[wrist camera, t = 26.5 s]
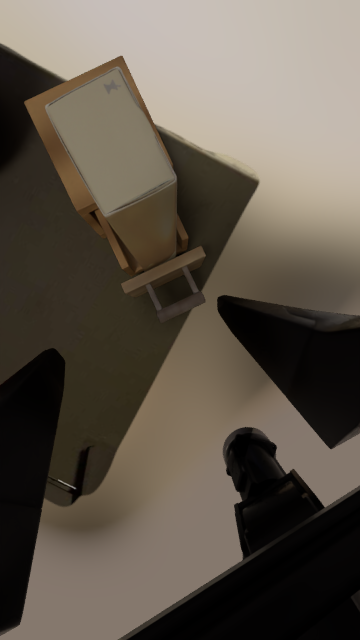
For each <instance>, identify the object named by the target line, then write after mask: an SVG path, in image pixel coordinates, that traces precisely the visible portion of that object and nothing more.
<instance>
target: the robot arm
mask: <svg viewBox="0 0 360 640" xmlns="http://www.w3.org/2000/svg"><path fill="white" fill-rule="evenodd" d="M217 302H218V303H217V307H218V312H219V314H220V316H221V317H222V319H223V320H224V322H225V323H226V325H227V326H228V328H229V329H230V330H231V332H232V333H233V334H234V336H235V337H236V338H237V339H238V340H239V342H240V343H241V344H242V345H243V346H244V347H245V349H246V350H247V351H248V352H249V353H250V354H251V356H252V357H253V358H254V359H255V361H256V362H257V363H258V364H259V365H260V366H261V368H262V369H263V370H264V371H265V372H266V374H267V375H268V376H269V377H270V378H271V380H272V381H273V382H274V383H275V384H276V385H277V387H278V388H279V389H280V390H281V391H282V393H283V394H284V395H285V396H286V397H287V399H288V400H289V401H290V402H291V403H292V405H293V406H294V407H295V408H296V409H297V410H298V412H299V413H300V414H301V415H302V416H303V418H304V419H305V420H306V421H307V422H308V424H309V425H310V426H311V427H312V428H313V430H314V431H315V432H316V433H317V434H318V435H319V437H320V438H321V439H322V440H323V441H324V443H325V444H326V445H327V446H328V447H329V448H330V449H333V448H335V447H336V446H338V445H340V444H342V443H343V442H345V441H347V440H349V439H351V438H352V437H354V436H356V435H358V434H359V433H360V316H356V315H346V314H338V313H330V312H322V311H315V310H308V309H301V308H295V307H289V306H283V305H278V304H272V303H266V302H260V301H255V300H249V299H243V298H238V297H232V296H227V295H223V296H220V297H218V299H217ZM64 377H65V360H64V358H63V357H62V356H61V355H60V354H59V352H58V351H57V350H56V349H54V348H51V349H48V350H45V351H43V352H42V353H40V354H39V355H38V356H37V357H35V358H34V359H33V360H32V361H30V362H29V363H28V364H27V365H25V366H24V367H23V368H21V369H20V370H19V371H18V372H16V373H15V374H14V375H13V376H11V377H10V378H9V379H8V380H6V381H5V382H4V383H3V384H1V385H0V636H1V635H3V634H4V633H6V632H8V631H10V630H12V629H13V628H15V627H17V626H18V625H20V622H21V618H22V614H23V609H24V604H25V599H26V593H27V588H28V582H29V577H30V572H31V566H32V560H33V555H34V549H35V544H36V539H37V533H38V528H39V522H40V517H41V512H42V509H41V508H42V505H43V500H44V495H45V489H46V484H47V478H48V473H49V468H50V462H51V457H52V451H53V446H54V440H55V435H56V429H57V424H58V419H59V413H60V408H61V402H62V397H63V391H64ZM238 437H240V438H238ZM272 446H273V447H272ZM276 449H277V447H276V445H275V444H274V443H273V442H269V441H265V440H261V439H257V438H253V437H249V436H246V435H242V434H236V436H235V439H234V443H233V446H232V448H231V450H230V453H229V457H228V461H227V468H226V473H227V475H228V476H231V477H232V480H233V483H234V486H235V489H236V490H237V492H239V493H240V495H241V498H242V502H240V503H239V504H238V503H236V504H235V505H234V508H235V517H236V522H237V528H238V534H239V539H240V545H241V549H242V552H243V560H242V561H241V562H239V563H238V564H236V565H235V566H233V567H231V568H230V569H228V570H227V571H225V572H224V573H222V574H220V575H219V576H217V577H216V578H214V579H213V580H211V581H209V582H208V583H206V584H205V585H203V586H201V587H200V588H198V589H197V590H195V591H194V592H192V593H190V594H189V595H188V596H186V597H184V598H183V599H181V600H180V601H178V602H176V603H175V604H173V605H172V606H170V607H169V608H167V609H165V610H164V611H162V612H161V613H159V614H158V615H156V616H154V617H153V618H151V619H150V620H148V621H147V622H145V623H143V624H142V625H140V626H139V627H137V628H136V629H134V630H132V631H131V632H129V633H128V634H126V635H125V636H123V637H121V638H120V639H118V640H360V486H358V487H357V488H355V489H354V490H352V491H351V492H349V493H347V494H346V495H344V496H343V497H341V498H340V499H338V500H336V501H335V502H333V503H332V504H330V505H329V506H327V507H324V506H323V505H322V503H321V502H320V500H319V499H318V498H317V496H316V495H315V494H314V493H313V492H312V490H311V489H310V488H309V487H308V485H307V484H306V483H305V482H304V481H303V480H302V478H301V477H300V476H299V475H298V474H297V472H296V471H295V470H294V469H292V470H291V471H290V473H288V474H286V473H285V471H284V470H283V469H282V467H281V466H280V464H279V463H278V461H277V460H276V458H275V457H274V456H275V453H276ZM229 471H230V472H229Z"/></svg>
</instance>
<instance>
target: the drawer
mask: <svg viewBox="0 0 360 640" xmlns="http://www.w3.org/2000/svg"><path fill="white" fill-rule="evenodd" d="M94 211H95V214H96V216H97V218H98V220H99V222H100V224H101V226H102V228H103V230H104V232H105V234H106V236H107V238H108V241H109V243H110V245H111V247H112V249H113V251H114V253H115V255H116V257H117V259H118V261H119V263H120V265H121V267H122V269H123V270H124V271H125V272H126V273H128V274H129V275H130V276H134V275H136V274H138V273H140V272H142V271H144V270H143V269H142V267H141V266H140V264H139V263H138V262H137V260H136V259H135V258H134V256H133V255H132V254H131V252H130V251H129V250H128V248H127V247H126V245H125V244H124V243H123V241H122V240H121V239H120V237H119V236H118V235H117V233H116V232H115V231H114V229H113V228H112V227H111V225H110V224H109V222H108V221H107V220H106V218H105V217H104V216H103V214H102V212H101V211H100V209H99V208H98V209H96V210H94ZM187 246H188V235H187V233H186V231H185V229H184V227H183V225H182V222H181V220H180V218H179V216H178V214H177V224H176V255H178V254H180V253H182V252H184V251H186V250H187ZM205 256H206V255H205V253H204V250H203V248H202V246H199V247H197V248H195V249H193V250H191V251H189V252H186V253H184V254H182V255H180V256H178V257H176V258H174V259H172V260H170V261H168V262H165V263H163V264H161V265H159V266H157V267H155V268H153V269H151V270H149V271H147V272H144V273H142V274H140V275H138V276H136V277H134V278H132V279H130V280H128V281H126V282H124V283H121V286H122V288H123V290H124V292H125V294H127V295H130V296H132V297H134V298H136V297H138V296H140V295H142V294H144V293H146V292H149V295H150V297H151V299H152V301H153V303H154V305H155V307H156V309H157V312H156V314H157V316H158V318H159V320H160V322H161V323H163V322H165V321H167V320H169V319H171V318H173V317H175V316H178V315H180V314H182V313H184V312H186V311H188V310H190V309H192V308H194V307H196V306H199V305H201V304H203V303H205V298H204V295H203V294H202V292H201V291H199V292H198V289H197V286H196V284H195V282H194V280H193V278H192V276H191V274H190V272H191V271H193V270H195V269H197V268H199V267H201V265H202V263H203V261H204V258H205ZM182 275H185V277H186V279H187V281H188V284H189V286H190V288H191V290H192V292H193V295H191V296H189V297H186V298H184V299H182V300H180V301H178V302H176V303H174V304H172V305H170V306H168V307H165V308H162V306H161V304H160V302H159V300H158V298H157V296H156V294H155V292H154V290H153V289H155V288H157V287H159V286H161V285H163V284H165V283H167V282H170V281H172V280H174V279H176V278H178V277H180V276H182Z"/></svg>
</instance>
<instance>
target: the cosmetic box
mask: <svg viewBox="0 0 360 640" xmlns="http://www.w3.org/2000/svg"><path fill="white" fill-rule="evenodd" d="M45 109H46V112H47V114H48V116H49V118H50V121H51V123H52V125H53V127H54V129H55V131H56V133H57V135H58V137H59V139H60V141H61V143H62V144H63V146H64V148H65V150H66V152H67V154H68V156H69V157H70V159H71V161H72V163H73V164H74V166H75V168H76V170H77V172H78V173H79V175H80V177H81V179H82V180H83V182H84V184H85V186H86V187H87V189H88V191H89V192H90V194H91V196H92V197H93V199H94V201H95V202H96V204H97V206H98V207H99V209H100V211H101V212H102V214H103V216H104V217H105V218H106V220H107V221H108V222H109V224H110V225H111V227H112V228H113V229H114V231H115V232H116V233H117V235H118V236H119V237H120V239H121V240H122V241H123V243H124V244H125V245H126V247H127V248H128V250H129V251H130V252H131V254H132V255H133V256H134V258H135V259H136V260H137V262H138V263H139V264H140V266H141V267H142V269H143V270H144V271H145V272H147V271H149V270H151V269H153V268H155V267H157V266H159V265H161V264H163V263H165V262H168V261H170V260H172V259H174V258H176V224H177V176H176V174H175V173H174V171H173V169H172V167H171V165H170V163H169V161H168V159H167V157H166V155H165V153H164V151H163V149H162V147H161V145H160V143H159V141H158V139H157V137H156V135H155V133H154V131H153V129H152V127H151V125H150V123H149V121H148V119H147V118H146V116H145V114H144V112H143V111H142V109H141V107H140V105H139V103H138V101H137V99H136V97H135V95H134V93H133V91H132V89H131V87H130V85H129V84H128V82H127V80H126V78H125V76H124V74H123V72H122V70H121V68H120V67H118V66H117V67H115V68H112V69H111V70H109V71H108V72H106V73H104V74H102V75H100V76H98V77H96V78H94V79H92V80H90V81H88V82H86V83H85V84H83V85H81V86H79V87H77V88H75V89H73V90H71V91H70V92H68V93H66V94H64V95H62V96H60V97H59V98H57V99H56V100H54V101H53V102H51V103H48V104H47V105H45Z"/></svg>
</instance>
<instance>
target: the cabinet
mask: <svg viewBox="0 0 360 640" xmlns="http://www.w3.org/2000/svg"><path fill="white" fill-rule="evenodd" d="M117 66H118V67H120V68H121V70H122V72H123V74H124V76H125V78H126V80H127V82H128V84H129V85H130V87H131V89H132V91H133V93H134V95H135V97H136V99H137V101H138V103H139V105H140V107H141V109H142V111H143V112H144V114H145V116H146V118H147V119H148V121H149V123H150V125H151V127H152V129H153V131H154V133H155V135H156V137H157V139H158V141H159V143H160V145H161V147H162V149H163V151H164V153H165V155H166V157H167V159H168V161H169V163H170V165H171V167H172V169H173V163H172V161H171V159H170V157H169V155H168V153H167V151H166V148H165V146H164V144H163V142H162V140H161V138H160V136H159V133H158V131H157V129H156V127H155V125H154V123H153V121H152V119H151V116H150V114H149V112H148V110H147V108H146V106H145V103H144V101H143V99H142V97H141V95H140V93H139V91H138V88H137V86H136V84H135V82H134V80H133V78H132V76H131V73H130V71H129V69H128V67H127V65H126V63H125V61H124V58H123V56H119V57H117V58H115V59H113V60H111V61H109V62H107V63H105V64H102V65H100V66H98V67H96V68H94V69H92V70H90V71H88V72H86V73H84V74H81V75H79V76H77V77H75V78H73V79H71V80H69V81H67V82H65V83H62V84H60V85H58V86H56V87H54V88H52V89H50V90H48V91H46V92H44V93H41V94H39V95H37V96H35V97H33V98H31V99H29V100H27V101H25V102H24V104H25V106H26V108H27V110H28V112H29V114H30V116H31V118H32V120H33V122H34V124H35V126H36V128H37V131H38V133H39V135H40V137H41V139H42V141H43V143H44V145H45V147H46V149H47V151H48V153H49V155H50V157H51V159H52V161H53V164H54V166H55V168H56V170H57V172H58V174H59V176H60V178H61V180H62V182H63V184H64V186H65V188H66V190H67V192H68V194H69V197H70V199H71V201H72V203H73V205H74V207H75V209H76V211H77V212H78V213H79V214H80V215H81V216H82V217H83V218H84V219H85V220H86V222H87V223H88V224H89V225H90V226H91V227H92V228H93V229H94V230H95V231H96V232H97V233H98V234H99V235H100V236H101V237H102V238H103V239H104V238H106V237H107V236H106V234H105V232H104V230H103V228H102V226H101V224H100V222H99V220H98V218H97V216H96V214H95V211H94V210H96V209H98V208H99V207H98V206H97V204H96V202H95V201H94V199H93V197H92V196H91V194H90V192H89V191H88V189H87V187H86V186H85V184H84V182H83V180H82V179H81V177H80V175H79V173H78V172H77V170H76V168H75V166H74V164H73V163H72V161H71V159H70V157H69V156H68V154H67V152H66V150H65V148H64V146H63V144H62V143H61V141H60V139H59V137H58V135H57V133H56V131H55V129H54V127H53V125H52V123H51V121H50V118H49V116H48V114H47V112H46V109H45V105H47V104H48V103H51V102H53V101H54V100H56V99H57V98H59V97H60V96H62V95H64V94H66V93H68V92H70V91H71V90H73V89H75V88H77V87H79V86H81V85H83V84H85V83H86V82H88V81H90V80H92V79H94V78H96V77H98V76H100V75H102V74H104V73H106V72H108V71H109V70H111V69H112V68H115V67H117Z"/></svg>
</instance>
